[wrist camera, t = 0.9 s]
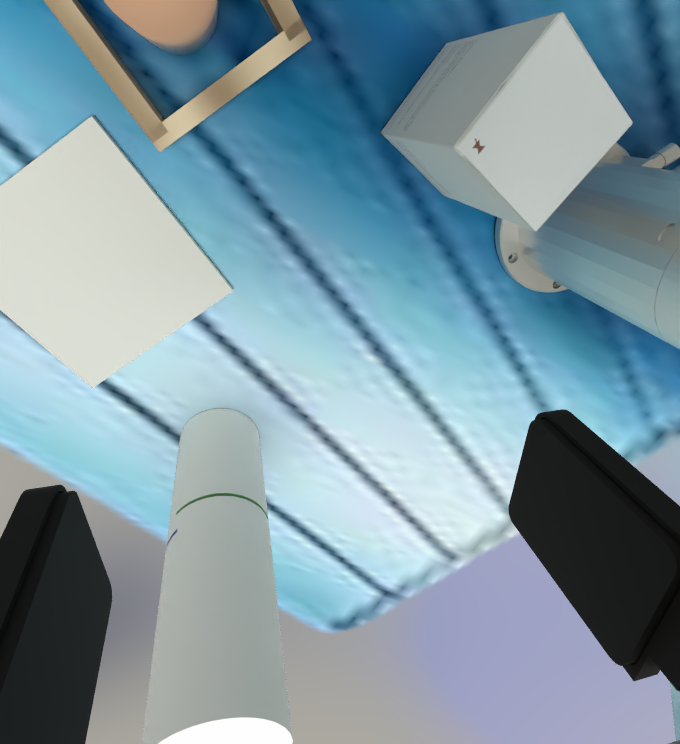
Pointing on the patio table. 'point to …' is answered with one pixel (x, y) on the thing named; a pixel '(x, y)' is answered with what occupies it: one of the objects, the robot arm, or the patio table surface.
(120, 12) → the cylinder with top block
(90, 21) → the cradle
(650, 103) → the patio table surface
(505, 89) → the supplement box
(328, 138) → the patio table surface
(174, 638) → the cylindrical container
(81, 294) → the mat
